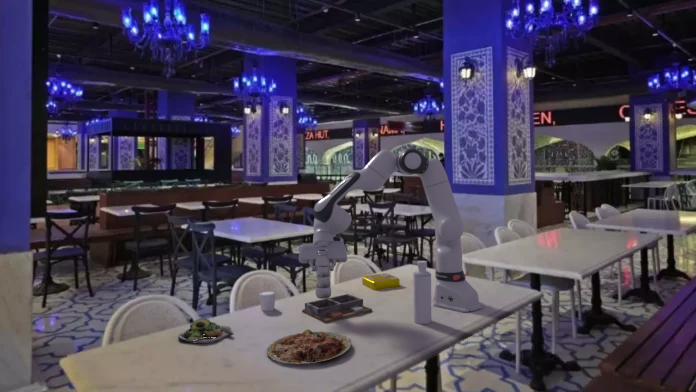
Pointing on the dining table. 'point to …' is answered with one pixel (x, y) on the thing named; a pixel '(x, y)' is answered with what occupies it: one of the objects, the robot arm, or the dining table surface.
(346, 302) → the socket board
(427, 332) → the dining table surface
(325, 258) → the plastic bottle
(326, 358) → the rice dish
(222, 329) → the salad plate
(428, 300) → the white bottle
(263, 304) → the white cup
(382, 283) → the element tile
